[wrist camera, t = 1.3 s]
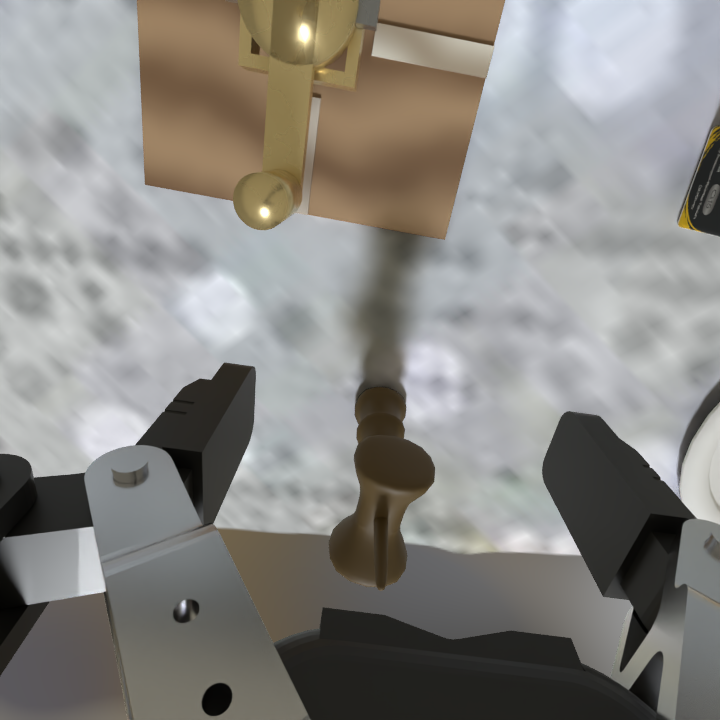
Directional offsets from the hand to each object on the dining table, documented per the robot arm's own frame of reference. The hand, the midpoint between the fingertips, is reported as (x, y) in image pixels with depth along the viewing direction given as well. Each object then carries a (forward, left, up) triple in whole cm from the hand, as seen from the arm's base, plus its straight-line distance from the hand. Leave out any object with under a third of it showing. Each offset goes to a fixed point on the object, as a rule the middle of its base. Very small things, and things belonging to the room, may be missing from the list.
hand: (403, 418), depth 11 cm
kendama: (+16, +3, -27) cm, 32 cm away
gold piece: (-9, -7, -23) cm, 26 cm away
